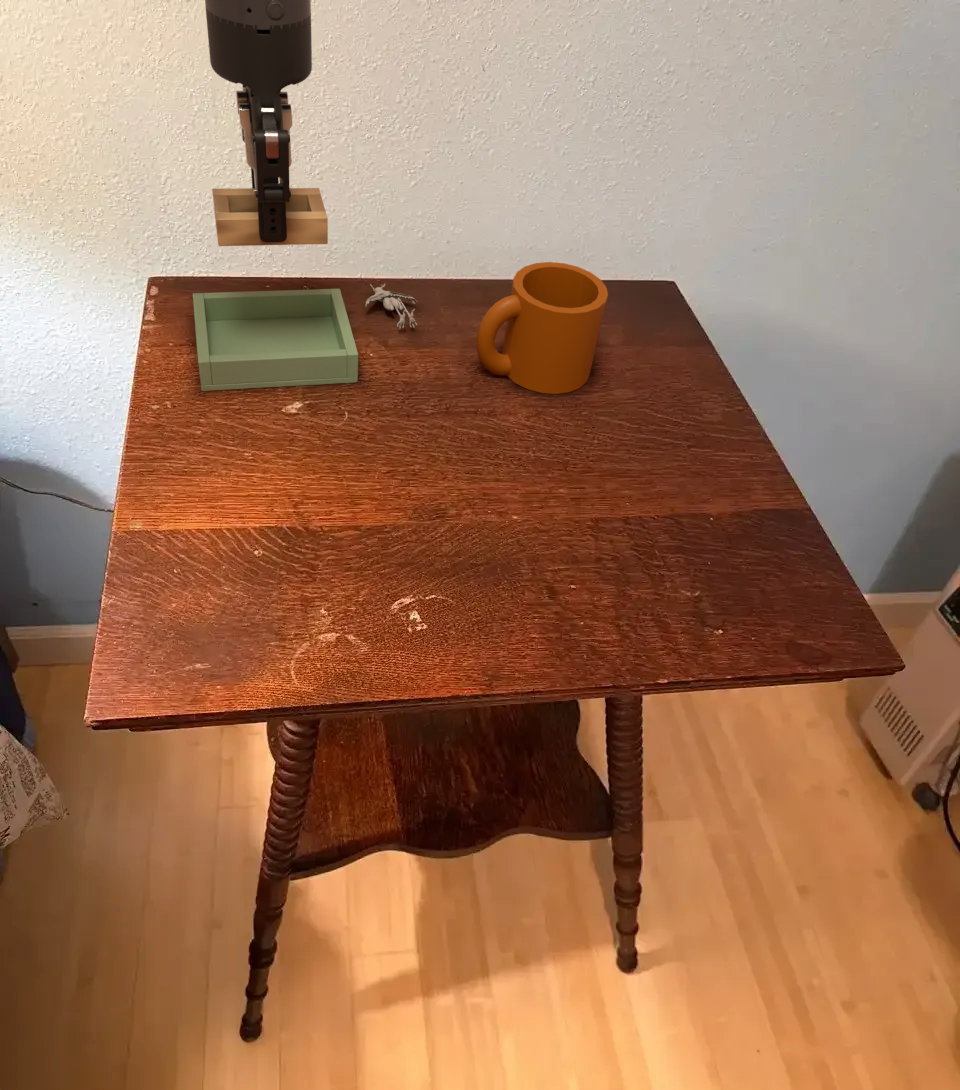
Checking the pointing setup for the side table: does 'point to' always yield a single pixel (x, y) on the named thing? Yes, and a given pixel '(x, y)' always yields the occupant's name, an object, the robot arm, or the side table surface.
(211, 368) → the holder
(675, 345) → the side table surface
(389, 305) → the figurine
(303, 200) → the frame
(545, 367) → the mug
